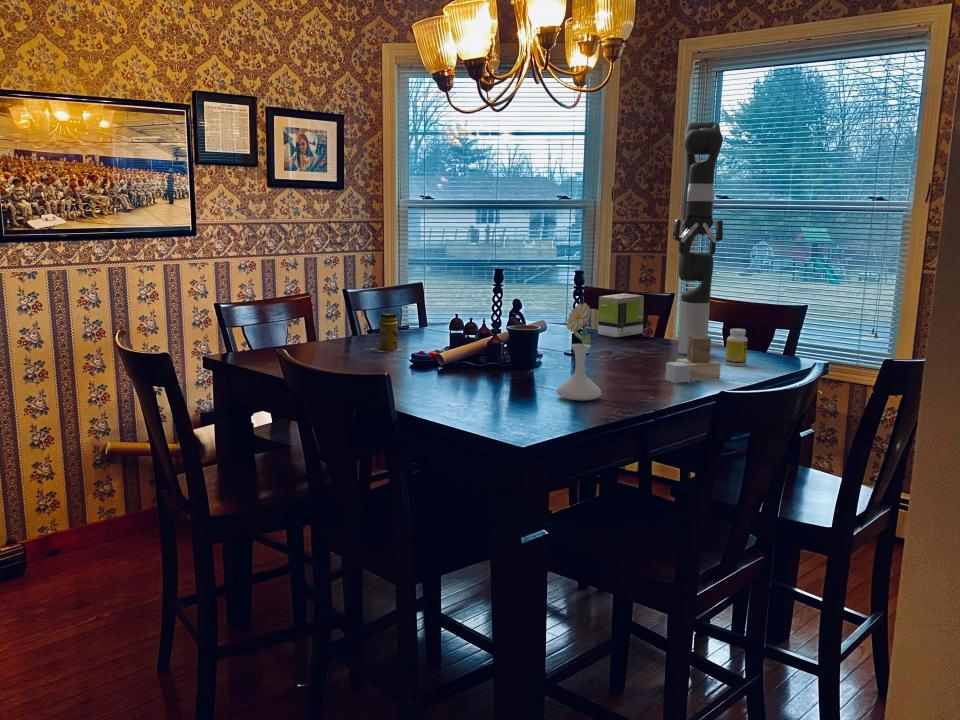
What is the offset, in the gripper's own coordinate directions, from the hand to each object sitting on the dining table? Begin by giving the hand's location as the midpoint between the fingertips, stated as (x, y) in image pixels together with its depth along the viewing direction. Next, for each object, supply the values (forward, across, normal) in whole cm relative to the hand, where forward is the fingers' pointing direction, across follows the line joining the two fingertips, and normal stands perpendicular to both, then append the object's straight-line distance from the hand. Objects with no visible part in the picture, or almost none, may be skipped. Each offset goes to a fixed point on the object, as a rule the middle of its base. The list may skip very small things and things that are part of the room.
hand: (696, 255), depth 249 cm
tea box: (+34, +8, -63) cm, 72 cm away
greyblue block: (+34, +9, +19) cm, 40 cm away
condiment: (+34, +94, -28) cm, 104 cm away
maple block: (+34, +2, +14) cm, 37 cm away
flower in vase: (+34, +41, +42) cm, 67 cm away
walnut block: (+29, +2, +14) cm, 32 cm away
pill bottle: (+34, -16, -5) cm, 38 cm away
